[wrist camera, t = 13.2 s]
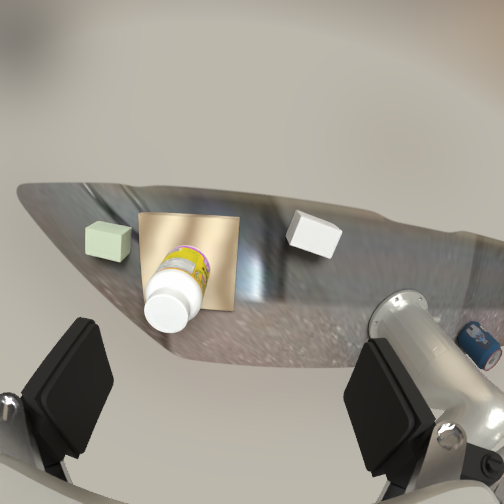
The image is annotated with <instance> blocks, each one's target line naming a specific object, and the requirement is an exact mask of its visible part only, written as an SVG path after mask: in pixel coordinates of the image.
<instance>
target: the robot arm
mask: <svg viewBox="0 0 504 504" xmlns="http://www.w3.org/2000/svg"><path fill="white" fill-rule="evenodd" d="M427 310H428V307H427V302H426V300H425V298H424V297H423V296H422V295H421V294H420V293H419V292H417V291H415V290H402V291H399V292H396V293H394V294H392V295H391V296H389V297H388V298H386V299H385V300H384V301H383V302H382V303H381V304H380V305H379V306H378V307H377V309H376V310H375V312H374V313H373V315H372V317H371V320H370V323H369V336H370V338H371V339H369V340H368V342H367V343H365V344H364V345H363V348H362V350H361V353H360V356H359V358H358V361H357V363H356V366H355V368H354V371H353V373H352V376H351V378H350V380H349V382H348V385H347V387H346V389H345V391H344V396H343V397H344V402H345V405H346V408H347V411H348V414H349V417H350V420H351V423H352V426H353V429H354V432H355V435H356V438H357V441H358V444H359V447H360V450H361V453H362V457H363V460H364V463H365V466H366V469H367V470H368V471H371V473H372V476H373V477H376V476H380V475H383V474H386V477H387V482H386V484H385V486H384V488H383V490H382V492H381V494H380V496H379V497H378V500H377V501H376V503H374V504H504V446H503V447H502V448H500V449H499V450H498V451H496V452H494V451H491V449H492V448H494V447H495V446H496V444H497V443H499V442H500V441H501V439H502V438H503V437H504V393H503V392H502V391H501V390H500V389H499V388H498V387H497V386H495V385H494V384H493V383H492V382H491V381H490V380H488V379H487V378H486V377H485V376H484V375H483V374H482V373H481V372H480V371H479V370H478V369H477V368H476V366H475V365H474V364H473V363H472V362H471V361H470V360H469V359H468V358H467V356H466V355H465V354H464V353H463V352H462V351H461V350H460V348H459V347H458V346H457V345H456V344H455V343H454V342H453V340H452V339H451V338H450V337H449V336H448V335H447V334H446V333H445V331H444V330H443V329H442V328H441V327H440V326H439V325H438V324H437V323H439V322H440V317H439V316H432V315H431V314H430V313H429V312H428V311H427ZM113 382H114V379H113V375H112V372H111V369H110V365H109V362H108V358H107V355H106V352H105V348H104V344H103V341H102V337H101V333H100V329H99V326H98V325H97V324H95V322H94V320H92V319H87V318H81V317H79V318H77V319H76V320H75V321H74V323H73V324H72V325H71V326H70V328H69V329H68V330H67V331H66V333H65V334H64V335H63V336H62V337H61V339H60V340H59V341H58V342H57V344H56V345H55V346H54V348H53V349H52V350H51V352H50V353H49V354H48V355H47V357H46V358H45V360H44V361H43V362H42V364H41V365H40V366H39V368H38V369H37V371H36V372H35V373H34V374H33V376H32V377H31V379H30V380H29V382H28V383H27V384H26V386H25V388H24V389H23V390H22V392H21V393H22V396H21V398H19V396H17V395H16V394H13V393H10V392H7V393H2V394H0V504H127V503H124V502H120V501H117V500H114V499H110V498H107V497H104V496H102V495H98V494H96V493H93V492H90V491H88V490H85V489H83V488H80V487H77V486H75V485H73V483H72V480H71V478H70V476H69V473H68V471H67V468H66V466H65V463H64V460H63V459H64V457H65V454H66V455H68V456H71V457H74V458H76V459H78V457H79V455H80V454H82V453H84V452H85V449H86V447H87V444H88V442H89V439H90V437H91V435H92V432H93V430H94V427H95V425H96V423H97V420H98V418H99V415H100V413H101V411H102V408H103V406H104V404H105V402H106V400H107V397H108V395H109V393H110V391H111V389H112V386H113ZM430 408H433V409H440V410H445V412H444V413H443V414H442V415H441V416H440V417H439V418H438V419H437V420H436V418H435V417H434V415H433V414H432V412H431V410H430ZM435 420H436V421H435Z"/></svg>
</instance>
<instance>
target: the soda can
mask: <svg viewBox="0 0 504 504" xmlns="http://www.w3.org/2000/svg"><path fill="white" fill-rule="evenodd" d="M458 341H459V345H460V346H461V347H462V349H463V350H464V351H465V352H466V353H467V354H468V355H469V357H470V358H471V359H472V360H473V361H474V362H475V364H476V365H477V366H478V367H479V368H480V369H483V370H485V371H488V370H490V369H491V368H493V367H494V366H495V365H496V363H497V362H498V361H499V359H500V357H501V355H502V350H501V348H500V344H499V343H498V342H497V341H496V340H495V339H494V338H493V337H492V336H491V335H490V334H489V333H488V332H487V331H486V330H485V329H484V328H483V327H482V326H481V325H480V324H479V323H478V322H473V321H471V322H468V323H467V324H465V325H464V326H463V328H462V329H461V331H460V332H459V335H458Z"/></svg>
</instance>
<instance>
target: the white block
mask: <svg viewBox="0 0 504 504" xmlns="http://www.w3.org/2000/svg"><path fill="white" fill-rule="evenodd" d="M341 234H342V231H341V230H340V229H339V228H338V227H337V226H335V225H334V224H332V223H330V222H327V221H324V220H322V219H319V218H317V217H314V216H311V215H309V214H306V213H303V212H301V211H298V210H296V211H295V213H294V216H293V218H292V221H291V223H290V226H289V228H288V231H287V233H286V238H287V240H288V242H289V244H290V245H292V246H295V247H298V248H301V249H304V250H306V251H309V252H312V253H315V254H318V255H321V256H324V257H327V258H330V259H331V256H332V254H333V252H334V250H335V248H336V245H337V243H338V241H339V238H340V236H341Z"/></svg>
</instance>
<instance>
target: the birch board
mask: <svg viewBox="0 0 504 504" xmlns="http://www.w3.org/2000/svg"><path fill="white" fill-rule="evenodd" d="M239 220H240V217H229V216H213V215H197V214H178V213H157V212H141V213H140V214H139V242H140V259H141V273H142V284H143V294H144V303H146V298H145V290H146V286H147V284H148V282H149V280H150V278H151V277H152V276H153V274H154V273H155V271H156V270H157V268H158V267H159V265H160V264H161V263H162V261H163V260H164V258H165V257H166V255H167V254H168V253H169V252H170V251H171V250H172V249H173V248H175V247H178V246H182V245H189V246H193V247H196V248H198V249H199V250H201V251H202V252H203V253H204V254H205V255H206V257H207V259H208V261H209V264H210V274H209V278H208V282H207V286H206V290H205V293H204V297H203V301H202V305H201V308H200V309H212V310H225V311H233V308H234V292H235V277H236V262H237V247H238V233H239Z"/></svg>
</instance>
